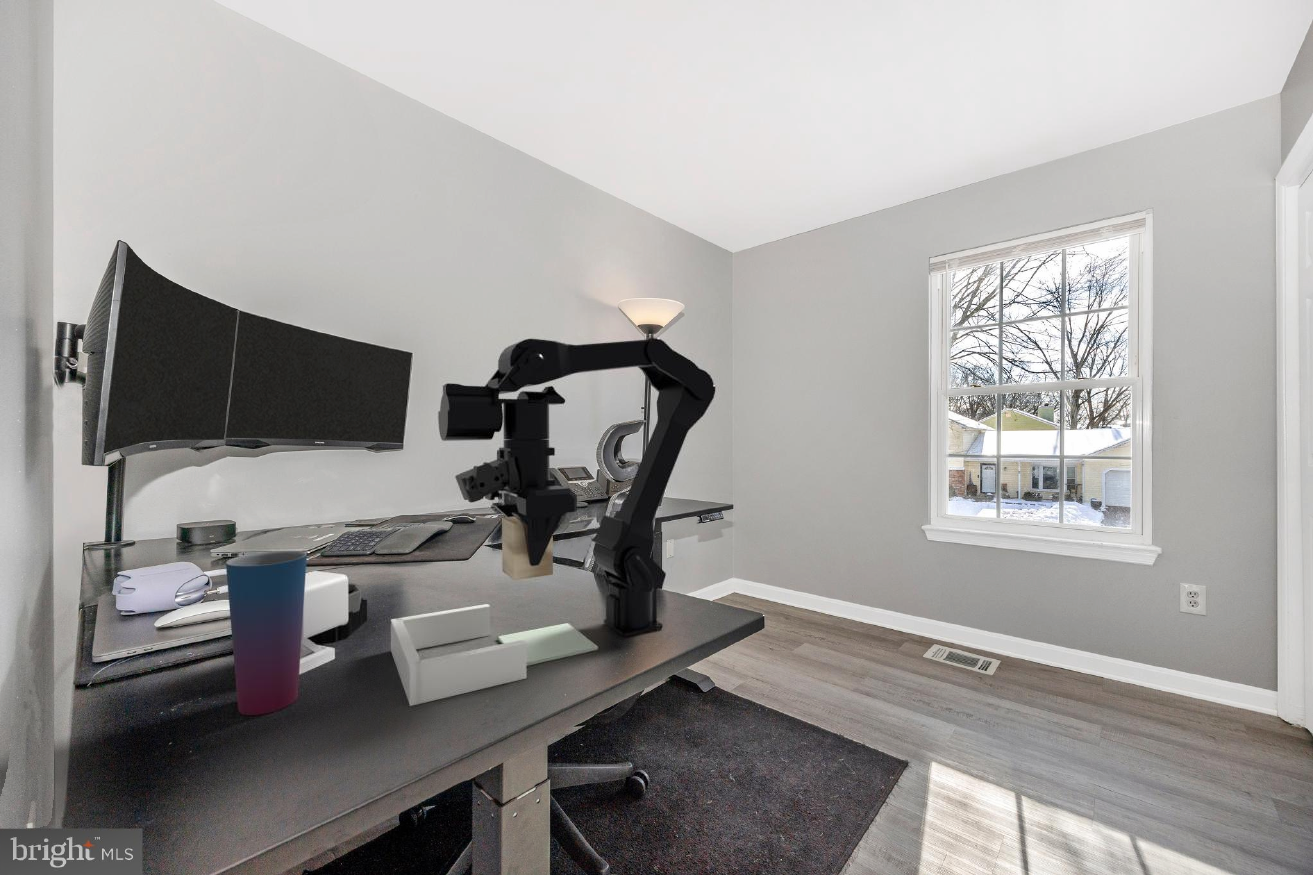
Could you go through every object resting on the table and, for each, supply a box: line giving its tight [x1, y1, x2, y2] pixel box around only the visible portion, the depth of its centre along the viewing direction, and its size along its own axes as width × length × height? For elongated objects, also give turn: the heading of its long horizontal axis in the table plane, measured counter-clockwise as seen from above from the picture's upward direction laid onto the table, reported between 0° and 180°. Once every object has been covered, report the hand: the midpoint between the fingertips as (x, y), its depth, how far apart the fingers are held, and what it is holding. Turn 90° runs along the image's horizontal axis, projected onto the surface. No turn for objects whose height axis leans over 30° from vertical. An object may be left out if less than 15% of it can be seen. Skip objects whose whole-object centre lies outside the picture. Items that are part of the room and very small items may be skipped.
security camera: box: [299, 570, 349, 676], centre depth 67 cm, size 6×7×10 cm
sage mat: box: [497, 622, 599, 667], centre depth 73 cm, size 10×10×1 cm
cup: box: [225, 550, 308, 716], centre depth 57 cm, size 7×7×15 cm
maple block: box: [501, 516, 554, 581], centre depth 71 cm, size 5×5×7 cm
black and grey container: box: [307, 582, 368, 643], centre depth 77 cm, size 10×6×10 cm
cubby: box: [390, 603, 527, 707], centre depth 67 cm, size 12×16×4 cm
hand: (527, 560), depth 71 cm, fingers closed on maple block, 5 cm apart
